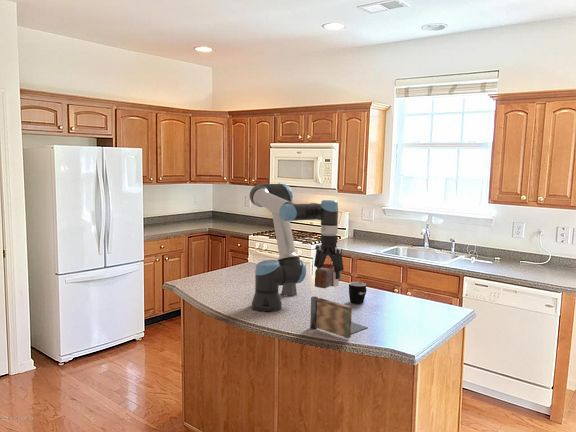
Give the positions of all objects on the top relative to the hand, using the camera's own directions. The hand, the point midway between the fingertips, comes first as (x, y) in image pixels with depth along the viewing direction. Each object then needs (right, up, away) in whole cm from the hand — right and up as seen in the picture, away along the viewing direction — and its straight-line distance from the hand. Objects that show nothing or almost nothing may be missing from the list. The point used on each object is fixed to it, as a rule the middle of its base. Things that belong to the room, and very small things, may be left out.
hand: (328, 284), depth 210 cm
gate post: (-7, -19, -5) cm, 21 cm away
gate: (+1, -19, -12) cm, 22 cm away
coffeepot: (-17, -13, +49) cm, 54 cm away
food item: (0, -1, -1) cm, 1 cm away
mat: (+8, -19, -4) cm, 21 cm away
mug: (+19, -15, +37) cm, 44 cm away
